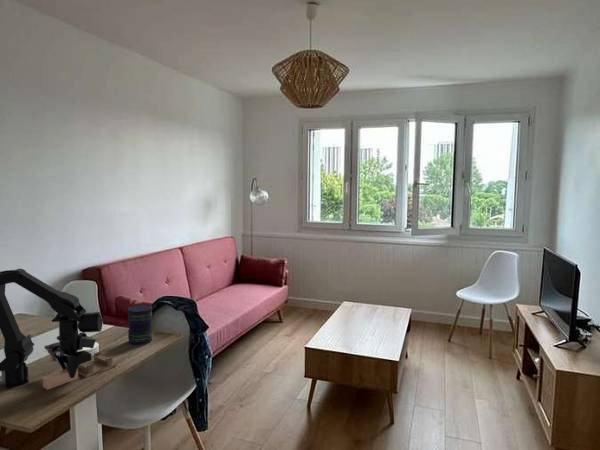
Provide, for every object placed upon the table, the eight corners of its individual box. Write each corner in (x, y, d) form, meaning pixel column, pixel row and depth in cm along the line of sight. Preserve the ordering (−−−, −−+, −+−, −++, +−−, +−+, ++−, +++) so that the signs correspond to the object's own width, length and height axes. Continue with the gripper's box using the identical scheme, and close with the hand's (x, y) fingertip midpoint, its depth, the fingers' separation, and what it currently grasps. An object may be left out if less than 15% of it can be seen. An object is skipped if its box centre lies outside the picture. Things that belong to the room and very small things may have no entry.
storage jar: (123, 343, 174) (122, 309, 173) (139, 336, 183) (138, 303, 182) (142, 347, 171) (141, 312, 170) (157, 339, 180) (157, 306, 179)
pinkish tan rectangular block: (47, 389, 134) (46, 379, 134) (42, 387, 136) (42, 377, 135) (78, 378, 142) (77, 368, 142) (73, 376, 144) (73, 366, 144)
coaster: (79, 361, 157) (79, 352, 156) (65, 355, 162) (65, 346, 162) (104, 352, 165) (103, 344, 165) (90, 347, 170) (90, 339, 170)
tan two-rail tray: (86, 377, 143) (85, 367, 143) (71, 369, 149) (71, 359, 148) (115, 366, 152) (115, 356, 152) (101, 359, 158) (100, 350, 157)
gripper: (106, 332, 141) (107, 375, 143) (78, 321, 152) (79, 361, 153) (73, 341, 132) (74, 387, 133) (46, 329, 143) (48, 372, 144)
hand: (70, 376), depth 141 cm, fingers closed on pinkish tan rectangular block, 3 cm apart
